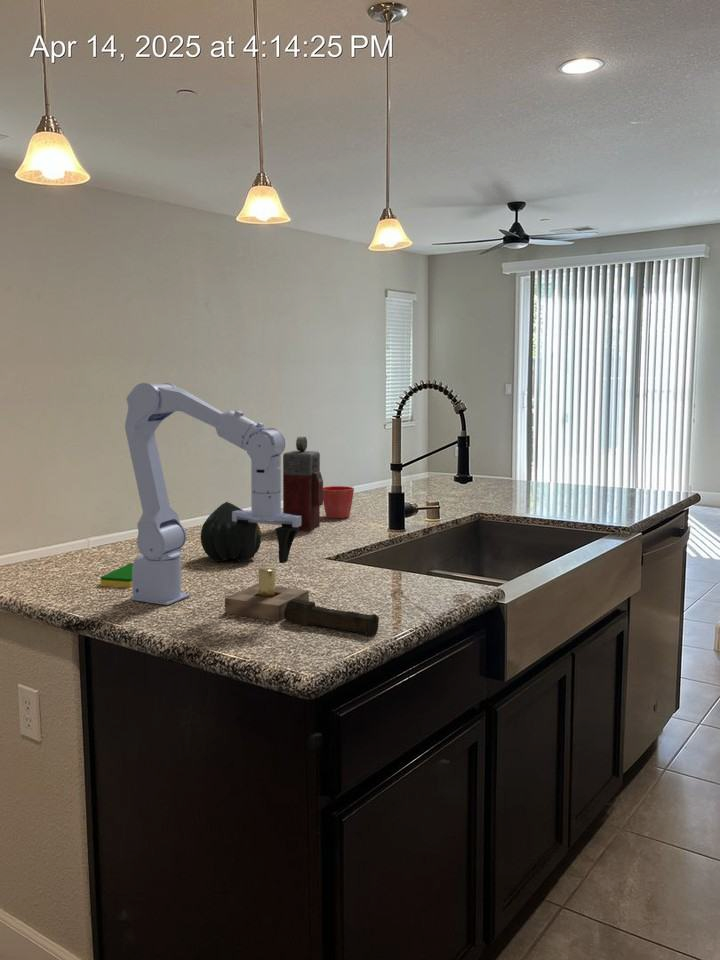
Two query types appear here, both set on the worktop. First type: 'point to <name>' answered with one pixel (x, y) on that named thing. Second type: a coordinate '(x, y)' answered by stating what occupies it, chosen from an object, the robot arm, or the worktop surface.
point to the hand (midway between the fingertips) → (266, 560)
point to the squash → (224, 535)
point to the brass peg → (266, 582)
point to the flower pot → (337, 501)
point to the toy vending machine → (303, 485)
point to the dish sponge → (119, 577)
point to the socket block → (263, 602)
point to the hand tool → (330, 617)
